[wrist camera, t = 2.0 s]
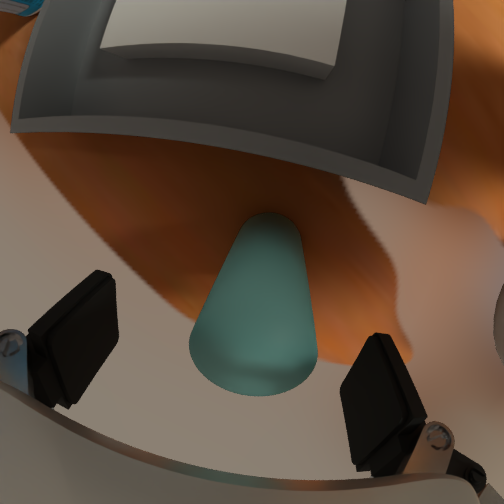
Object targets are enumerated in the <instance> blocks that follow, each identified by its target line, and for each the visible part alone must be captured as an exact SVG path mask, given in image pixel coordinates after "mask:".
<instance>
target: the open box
mask: <svg viewBox="0 0 504 504" xmlns="http://www.w3.org/2000/svg"><path fill="white" fill-rule="evenodd" d="M453 55H454V9H453V0H44V2H43V5H42V7H41V9H40V12H39V14H38V17H37V20H36V22H35V25H34V28H33V30H32V33H31V36H30V39H29V42H28V46H27V49H26V52H25V56H24V60H23V63H22V67H21V71H20V76H19V80H18V85H17V90H16V95H15V101H14V107H13V114H12V122H11V131H10V133H26V132H83V133H104V134H119V135H131V136H142V137H152V138H160V139H169V140H176V141H184V142H190V143H197V144H203V145H210V146H215V147H221V148H227V149H232V150H237V151H243V152H248V153H252V154H257V155H262V156H266V157H271V158H275V159H280V160H284V161H288V162H292V163H296V164H300V165H304V166H308V167H312V168H315V169H319V170H323V171H326V172H330V173H333V174H337V175H340V176H344V177H347V178H350V179H354V180H357V181H360V182H363V183H366V184H370V185H372V186H375V187H378V188H381V189H384V190H387V191H390V192H393V193H396V194H399V195H401V196H404V197H407V198H410V199H412V200H415V201H417V202H420V203H423V204H425V205H426V203H427V200H428V196H429V193H430V189H431V186H432V182H433V179H434V175H435V171H436V167H437V163H438V159H439V154H440V150H441V145H442V141H443V136H444V130H445V125H446V119H447V113H448V106H449V99H450V91H451V82H452V71H453Z"/></svg>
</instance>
